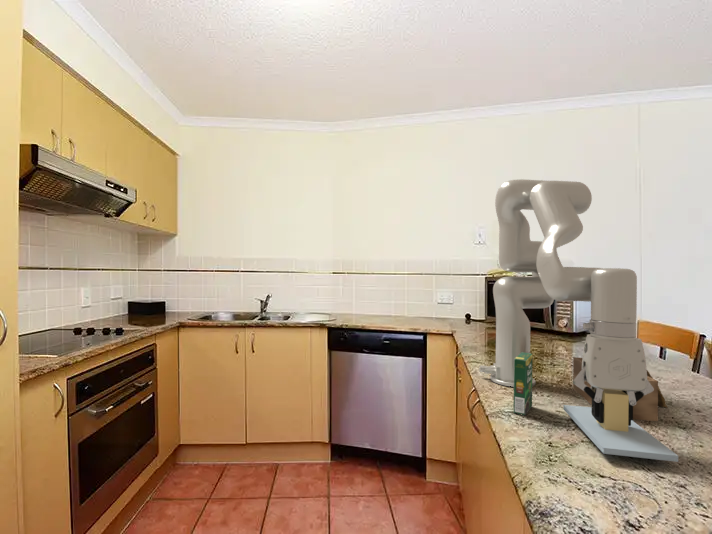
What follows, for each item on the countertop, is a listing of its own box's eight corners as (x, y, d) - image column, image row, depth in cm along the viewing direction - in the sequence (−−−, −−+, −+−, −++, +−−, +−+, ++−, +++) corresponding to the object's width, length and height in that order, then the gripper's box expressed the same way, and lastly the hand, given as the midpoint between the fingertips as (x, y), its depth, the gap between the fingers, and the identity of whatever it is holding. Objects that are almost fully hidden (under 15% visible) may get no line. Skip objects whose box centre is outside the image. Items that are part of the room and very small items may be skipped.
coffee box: (525, 417, 84) (526, 359, 84) (512, 414, 86) (513, 357, 86) (533, 406, 91) (533, 353, 91) (520, 404, 92) (521, 351, 93)
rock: (618, 381, 106) (614, 383, 98) (641, 359, 103) (639, 361, 96) (656, 412, 100) (655, 418, 92) (682, 390, 97) (683, 394, 89)
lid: (603, 453, 65) (604, 407, 65) (563, 409, 85) (563, 374, 85) (678, 461, 62) (678, 414, 62) (618, 414, 83) (618, 378, 83)
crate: (604, 416, 85) (605, 377, 85) (572, 388, 105) (573, 357, 105) (657, 421, 83) (658, 381, 83) (614, 392, 103) (615, 359, 103)
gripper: (573, 330, 72) (572, 425, 72) (673, 335, 68) (672, 434, 68) (560, 325, 79) (559, 410, 79) (650, 329, 76) (649, 418, 76)
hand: (611, 420), depth 74 cm, fingers closed on lid, 4 cm apart
